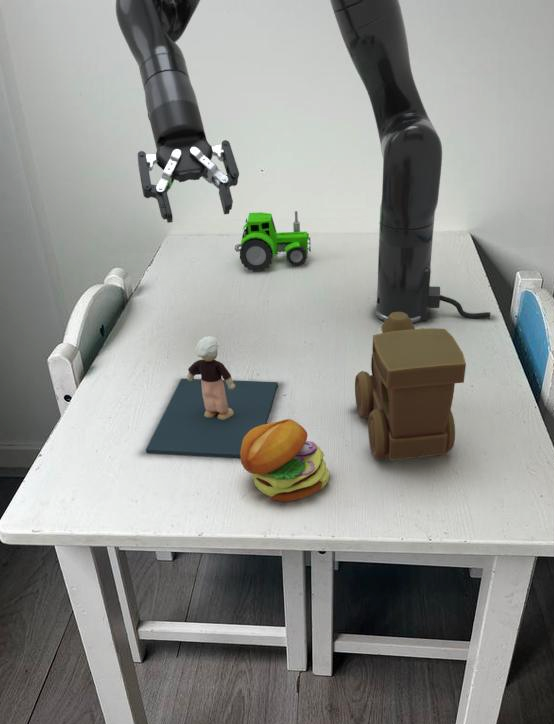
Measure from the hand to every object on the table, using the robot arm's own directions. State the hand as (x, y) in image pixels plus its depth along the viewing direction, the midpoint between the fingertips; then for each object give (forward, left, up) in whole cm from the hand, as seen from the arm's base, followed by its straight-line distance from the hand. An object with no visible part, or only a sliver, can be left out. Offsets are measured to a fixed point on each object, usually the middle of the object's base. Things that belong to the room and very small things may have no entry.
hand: (199, 215), depth 108 cm
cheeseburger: (-16, +29, -26) cm, 42 cm away
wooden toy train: (-31, +16, -26) cm, 44 cm away
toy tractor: (-2, -47, -26) cm, 53 cm away
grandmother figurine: (-3, +14, -25) cm, 29 cm away
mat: (-3, +14, -26) cm, 29 cm away
